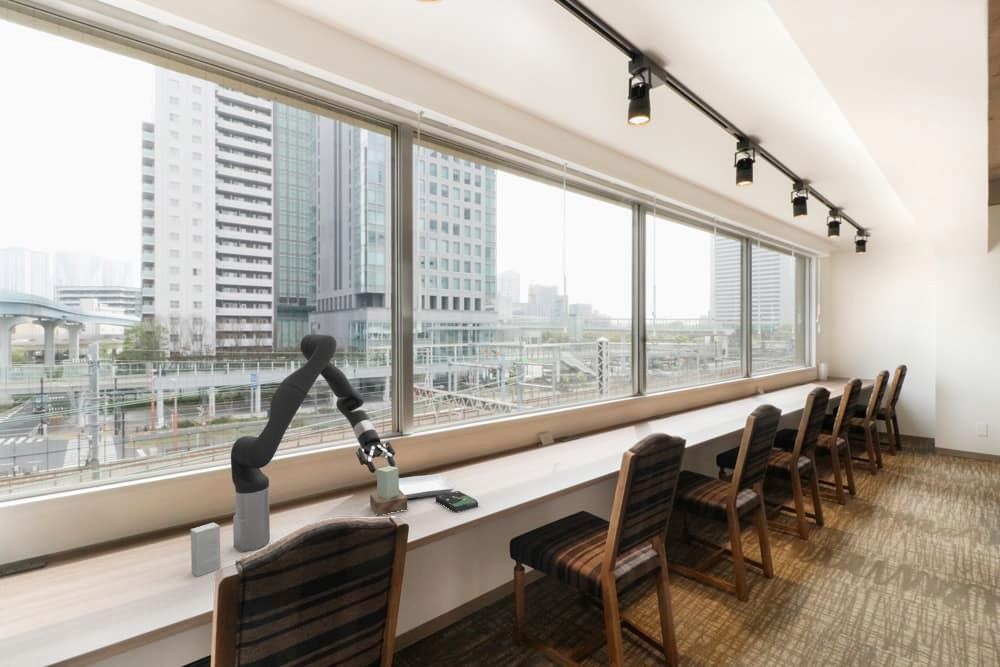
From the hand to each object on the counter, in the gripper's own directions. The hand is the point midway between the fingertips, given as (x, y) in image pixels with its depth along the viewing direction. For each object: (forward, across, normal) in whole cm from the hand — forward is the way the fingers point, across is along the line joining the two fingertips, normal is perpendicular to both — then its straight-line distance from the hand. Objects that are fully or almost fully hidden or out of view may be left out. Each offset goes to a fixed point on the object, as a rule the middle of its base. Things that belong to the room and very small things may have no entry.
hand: (383, 469), depth 176 cm
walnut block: (+12, 0, +8) cm, 15 cm away
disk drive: (+24, +19, -3) cm, 31 cm away
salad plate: (+8, +21, +13) cm, 26 cm away
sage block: (+8, 0, +5) cm, 10 cm away
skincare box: (+12, -60, +8) cm, 62 cm away
